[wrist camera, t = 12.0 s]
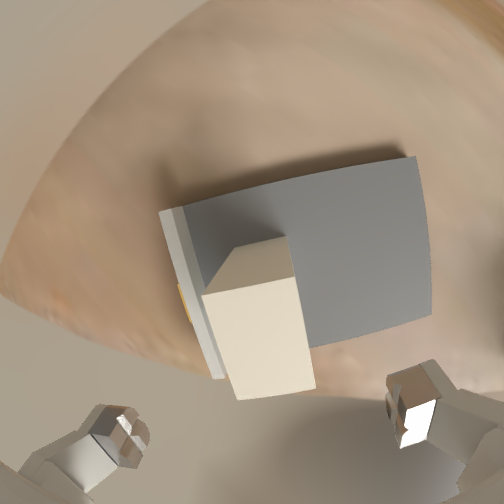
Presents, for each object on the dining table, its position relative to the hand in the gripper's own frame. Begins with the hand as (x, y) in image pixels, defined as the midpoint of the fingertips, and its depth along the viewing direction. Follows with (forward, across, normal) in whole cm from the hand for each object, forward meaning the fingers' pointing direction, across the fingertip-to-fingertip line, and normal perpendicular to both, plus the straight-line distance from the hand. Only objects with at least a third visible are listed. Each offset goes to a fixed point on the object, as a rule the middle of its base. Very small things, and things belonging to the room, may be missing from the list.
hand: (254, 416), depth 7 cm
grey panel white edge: (+16, -4, +1) cm, 17 cm away
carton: (+15, 0, +1) cm, 15 cm away
